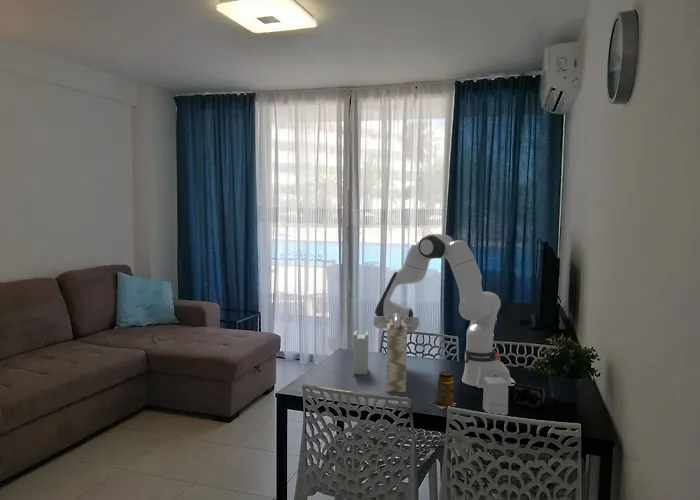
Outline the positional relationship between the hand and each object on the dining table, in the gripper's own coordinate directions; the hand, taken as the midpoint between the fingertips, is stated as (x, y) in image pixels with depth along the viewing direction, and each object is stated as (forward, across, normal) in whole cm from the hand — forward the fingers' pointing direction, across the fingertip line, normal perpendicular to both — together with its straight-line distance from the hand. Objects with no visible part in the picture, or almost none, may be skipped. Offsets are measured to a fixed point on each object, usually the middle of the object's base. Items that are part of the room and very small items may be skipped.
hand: (396, 316), depth 230 cm
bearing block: (-5, 0, +29) cm, 30 cm away
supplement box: (+17, +36, +42) cm, 58 cm away
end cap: (+8, +51, +37) cm, 64 cm away
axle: (+4, 0, +5) cm, 7 cm away
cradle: (-22, -16, +19) cm, 34 cm away
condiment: (+10, +18, +39) cm, 44 cm away
